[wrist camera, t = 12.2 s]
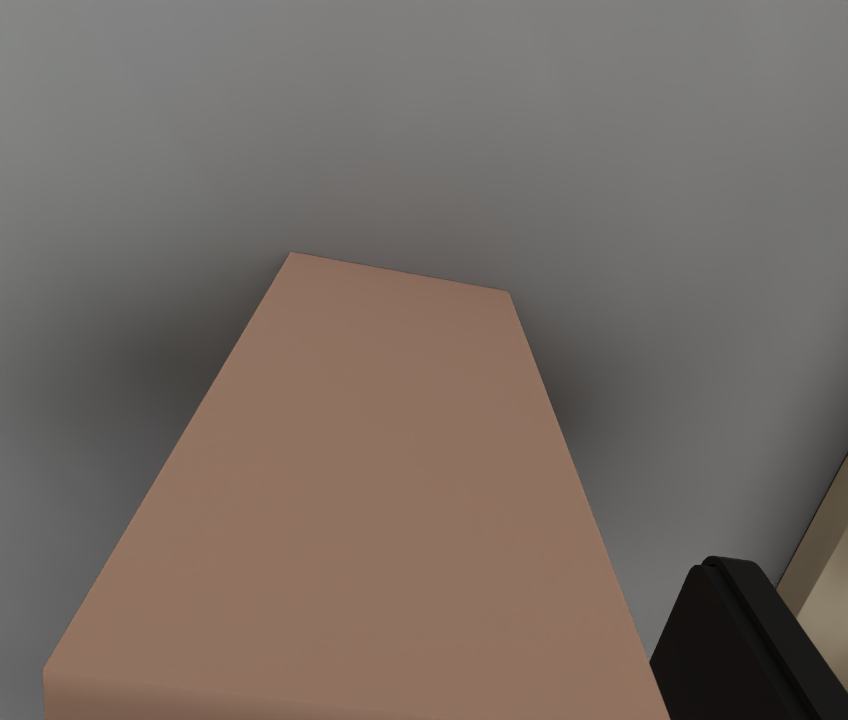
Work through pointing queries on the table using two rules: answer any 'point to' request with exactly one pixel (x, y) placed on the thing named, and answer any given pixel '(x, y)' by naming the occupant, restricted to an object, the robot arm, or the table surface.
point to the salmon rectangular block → (362, 531)
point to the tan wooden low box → (823, 578)
